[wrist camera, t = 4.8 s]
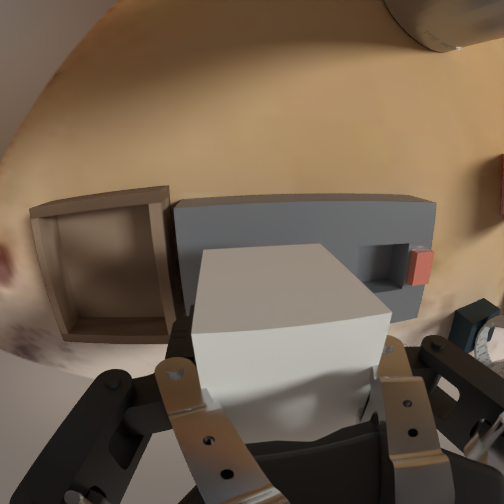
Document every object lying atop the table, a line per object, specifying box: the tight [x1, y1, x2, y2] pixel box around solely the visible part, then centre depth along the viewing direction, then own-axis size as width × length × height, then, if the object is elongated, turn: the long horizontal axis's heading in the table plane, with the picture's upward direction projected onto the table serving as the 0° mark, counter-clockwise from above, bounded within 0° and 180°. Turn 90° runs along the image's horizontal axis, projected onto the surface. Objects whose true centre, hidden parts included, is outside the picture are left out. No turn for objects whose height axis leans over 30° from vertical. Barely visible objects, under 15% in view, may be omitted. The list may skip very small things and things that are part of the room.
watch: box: [448, 298, 504, 378], centre depth 20 cm, size 6×8×11 cm
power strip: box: [174, 194, 436, 323], centre depth 18 cm, size 9×17×4 cm, turn 92°
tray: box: [29, 185, 184, 344], centre depth 17 cm, size 10×9×3 cm
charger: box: [191, 243, 392, 444], centre depth 11 cm, size 6×5×8 cm
